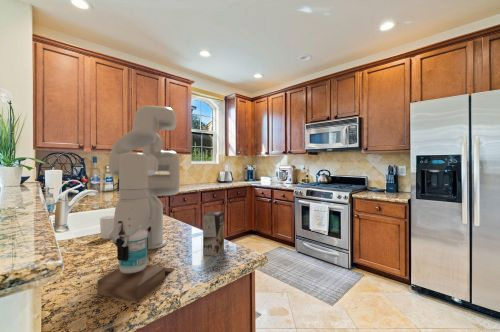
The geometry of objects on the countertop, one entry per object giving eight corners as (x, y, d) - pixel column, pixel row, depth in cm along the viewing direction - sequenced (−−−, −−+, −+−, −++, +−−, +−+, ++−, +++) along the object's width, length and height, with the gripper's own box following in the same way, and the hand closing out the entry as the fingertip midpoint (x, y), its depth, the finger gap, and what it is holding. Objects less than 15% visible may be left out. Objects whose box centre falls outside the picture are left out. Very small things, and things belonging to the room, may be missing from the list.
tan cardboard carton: (97, 297, 66) (97, 280, 66) (146, 267, 85) (146, 254, 85) (137, 304, 63) (137, 286, 63) (178, 272, 82) (178, 257, 82)
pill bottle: (125, 263, 74) (126, 220, 74) (150, 263, 74) (150, 219, 74) (114, 275, 66) (114, 226, 66) (141, 274, 67) (141, 226, 67)
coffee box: (217, 256, 94) (217, 215, 94) (202, 255, 95) (202, 214, 95) (224, 248, 103) (224, 211, 103) (210, 247, 104) (210, 210, 104)
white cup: (121, 236, 120) (121, 216, 120) (104, 240, 113) (105, 219, 113) (113, 234, 124) (113, 214, 124) (96, 237, 117) (96, 217, 117)
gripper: (142, 191, 80) (142, 244, 80) (97, 198, 63) (97, 265, 63) (162, 192, 78) (162, 246, 78) (121, 199, 61) (121, 268, 61)
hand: (133, 254), depth 70 cm, fingers closed on pill bottle, 7 cm apart
